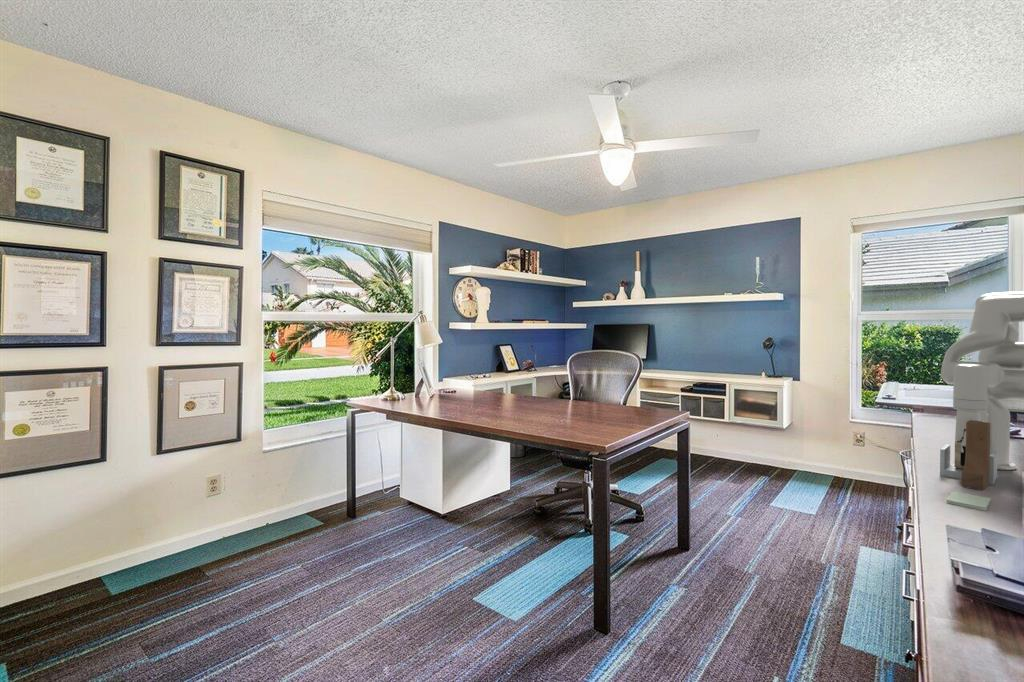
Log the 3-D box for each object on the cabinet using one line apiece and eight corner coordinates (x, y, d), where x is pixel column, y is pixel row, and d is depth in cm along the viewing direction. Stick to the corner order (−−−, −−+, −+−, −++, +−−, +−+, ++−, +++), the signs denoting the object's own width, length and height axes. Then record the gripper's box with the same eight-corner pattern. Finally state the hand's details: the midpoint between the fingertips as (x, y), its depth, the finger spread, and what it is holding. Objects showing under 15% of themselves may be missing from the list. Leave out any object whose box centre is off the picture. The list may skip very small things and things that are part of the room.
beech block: (956, 464, 150) (957, 439, 150) (983, 468, 146) (983, 442, 146) (954, 467, 148) (954, 441, 147) (981, 471, 143) (982, 444, 143)
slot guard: (945, 469, 154) (946, 444, 154) (996, 477, 145) (997, 451, 145) (939, 475, 148) (940, 449, 147) (993, 484, 139) (993, 456, 139)
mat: (953, 494, 130) (953, 491, 130) (990, 501, 125) (990, 498, 125) (946, 502, 124) (946, 499, 124) (985, 510, 119) (985, 507, 118)
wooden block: (982, 491, 133) (984, 425, 133) (960, 486, 137) (962, 423, 136) (989, 484, 139) (990, 422, 138) (968, 480, 142) (969, 419, 142)
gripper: (957, 400, 154) (956, 457, 155) (948, 406, 144) (947, 467, 144) (990, 403, 149) (989, 462, 149) (983, 409, 138) (982, 473, 138)
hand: (968, 464), depth 147 cm, fingers closed on beech block, 4 cm apart
